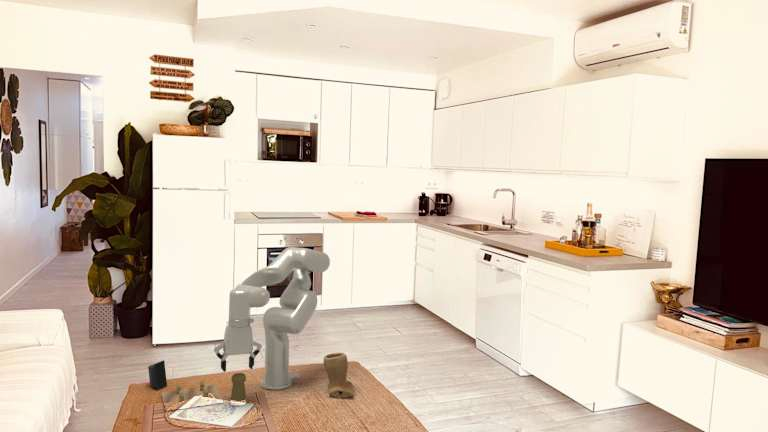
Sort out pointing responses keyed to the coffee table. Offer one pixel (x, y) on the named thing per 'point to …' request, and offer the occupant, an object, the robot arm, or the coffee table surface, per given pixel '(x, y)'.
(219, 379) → the coffee table surface
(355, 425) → the coffee table surface
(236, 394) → the cork
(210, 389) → the pin holder
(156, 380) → the speaker
